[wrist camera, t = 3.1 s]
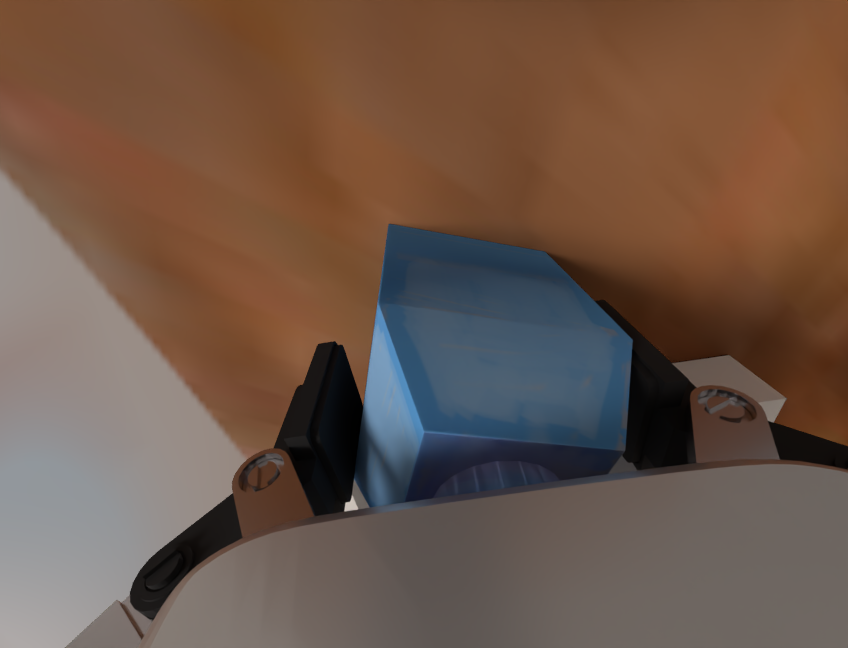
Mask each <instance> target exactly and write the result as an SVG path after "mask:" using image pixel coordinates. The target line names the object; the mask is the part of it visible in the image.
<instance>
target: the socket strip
mask: <svg viewBox="0 0 848 648" xmlns="http://www.w3.org/2000/svg"><path fill="white" fill-rule="evenodd" d="M672 364H673V365H674V366H675V367H676V368H677V369H678V370H680V371H681V372H682V373H683V374H684V375H685V376H686V377H687V378H688V379H689V381H690V382H691V383H692V384H693V385H694V386H696V387H697V388H698V387H700V386H706V385H717V386H724V387H728V388H732V389H735V390H737V391H740V392H742V393H745V394H746V395H748V396H749V397H751V398H753V399H754V400H755V401H756V402H758V403H759V404H760V405H761V406H762V408H763V410H764V412H765V414H766V417H767V420H768V421H770V422H773V423H774V421H775V419H776V417H777V415H778V413H779V412H780V410H781V408H782V406H783V404H784V402H785V401H786V399H787V398H785V397H784V396H783V395H781V394H780V393H779V392H777V391H776V390H775V389H773V388H772V387H771V386H769V385H768V384H767V383H766V382H764V381H763V380H762V379H760V378H759V377H758V376H756V375H755V374H754V373H752V372H751V371H750V370H748V369H747V368H746V367H744V366H743V365H742V364H740V363H739V362H738V361H736V360H735V359H734V358H732V357H731V356H730V355H726V356H719V357H712V358H706V359H699V360H692V361H685V362H678V363H672ZM364 508H370V507H369V505H368V503H367V502H366V500H365V498H364V496H363V494H362V493H361V491H360V489H359V487H358V485H357V484H356V482H355V480H354V483H353V491H352V498H351V501H350V502H346V503H345V510H344V512H345V511H351V510H357V509H364Z"/></svg>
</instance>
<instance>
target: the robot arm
mask: <svg viewBox="0 0 848 648" xmlns="http://www.w3.org/2000/svg"><path fill="white" fill-rule="evenodd" d="M595 302H596V303H597V304H598V305H599V306H600V307H601V308H602V309H603V310H604V311H605V312H606V313H607V314H608V315H609V316H610V317H611V319H612V320H613V321H614V322H615V323H616V324H617V325H618V326H619V327H620V328H621V329H622V330H623V331H624V332H625V333H626V334H627V335H628V336H629V337H630V338H631V339H632V340H633V343H632V358H631V373H630V387H629V402H628V417H627V432H626V447H625V452H624V453H623V454H622V456H623V458H624V459H625V460H626V461H627V462H628V463H633V465H634V466H635V468H636V469H637V470H636V471H629V472H621V473H614V474H606V475H599V476H591V477H584V478H576V479H569V480H561V481H554V482H547V483H539V484H532V485H525V486H518V487H510V488H503V489H496V490H489V491H482V492H474V493H467V494H460V495H453V496H446V497H439V498H432V499H425V500H418V501H411V502H404V503H397V504H390V505H383V506H377V507H370V508H364V509H357V510H351V511H345V512H344V510H345V503H346V502H350V501H351V498H352V491H353V483H354V476H355V463H356V456H357V449H358V441H359V434H360V427H361V419H362V412H363V405H362V401H361V398H360V395H359V392H358V389H357V386H356V383H355V380H354V377H353V374H352V371H351V368H350V365H349V362H348V359H347V356H346V353H345V350H344V347H343V345H337V343H336V342H335V341H334V342H328V343H321V344H318V345H317V348H316V351H315V353H314V356H313V359H312V362H311V364H310V367H309V370H308V373H307V375H306V378H305V381H304V384H303V385H300V386H298V387H297V389H296V391H295V393H294V396H293V398H292V401H291V404H290V406H289V409H288V412H287V414H286V417H285V419H284V422H283V425H282V427H281V430H280V433H279V435H278V438H277V440H276V443H275V446H274V448H272V449H267V450H263V451H261V452H259V453H256V454H255V455H253V456H252V457H250V458H249V459H247V460H246V461H245V462H244V463H243V464H242V465H241V466H240V468H239V469H238V471H237V472H236V473H235V475H234V478H233V481H232V490H233V494H231V495H230V496H229V497H227V498H226V499H225V500H224V501H222V502H221V503H220V504H218V505H217V506H216V507H214V508H213V509H212V510H211V511H209V512H208V513H207V514H205V515H204V516H203V517H202V518H200V519H199V520H198V521H196V522H195V523H194V524H193V525H191V526H190V527H189V528H187V529H186V530H185V531H184V532H182V533H181V534H180V535H178V536H177V537H176V538H175V539H173V540H172V541H171V542H169V543H168V544H167V545H165V546H164V547H163V548H162V549H160V550H159V551H158V552H157V553H156V554H155V555H153V556H152V557H151V558H150V559H149V560H148V562H147V563H146V564H145V565H144V566H143V567H142V569H141V570H140V571H139V573H138V575H137V577H136V578H135V580H134V582H133V585H132V588H131V591H130V595H129V596H128V597H127V598H126V599H125V600H124V601H123V602H122V603H121V602H120V601H118V600H116V601H115V602H114V603H113V604H112V605H111V606H109V607H108V608H107V609H106V610H105V611H104V612H103V613H102V614H101V615H100V616H99V617H98V618H97V619H95V620H94V621H93V622H92V623H91V624H90V625H89V626H88V627H87V628H86V629H85V630H84V631H83V632H81V633H80V634H79V635H78V636H77V637H76V638H75V639H74V640H73V641H72V642H71V643H69V645H67V646H66V647H65V648H848V446H845V445H842V444H839V443H835V442H832V441H829V440H826V439H823V438H820V437H817V436H814V435H811V434H807V433H804V432H801V431H798V430H795V429H792V428H789V427H786V426H783V425H780V424H776V423H773V422H770V421H768V420H767V417H766V414H765V412H764V410H763V408H762V406H761V405H760V404H759V403H758V402H756V401H755V400H754V399H753V398H751V397H749V396H748V395H746V394H745V393H742V392H740V391H737V390H735V389H732V388H728V387H724V386H717V385H706V386H700V387H698V388H697V387H696V386H694V385H693V384H692V383H691V382H690V381H689V379H688V378H687V377H686V376H685V375H684V374H683V373H682V372H681V371H680V370H678V369H677V368H676V367H675V366H674V365H673V364H672V363H671V362H670V361H669V360H668V359H667V358H666V357H665V356H664V355H663V354H661V353H660V352H659V351H658V350H657V349H656V348H655V347H654V346H653V345H652V344H651V343H650V342H649V341H648V340H647V339H646V338H644V337H643V336H642V335H641V334H640V333H639V332H638V331H637V330H636V329H635V328H634V327H633V326H632V325H631V324H630V323H629V322H627V321H626V320H625V319H624V318H623V317H622V316H621V315H620V314H619V313H618V312H617V311H616V310H615V309H614V308H613V307H612V306H610V305H609V304H608V303H607V302H606V301H605V300H599V301H595Z"/></svg>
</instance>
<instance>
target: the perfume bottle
mask: <svg viewBox="0 0 848 648" xmlns="http://www.w3.org/2000/svg"><path fill="white" fill-rule="evenodd" d="M632 343H633V340H632V339H631V338H630V337H629V336H628V335H627V334H626V333H625V332H624V331H623V330H622V329H621V328H620V327H619V326H618V325H617V324H616V323H615V322H614V321H613V320H612V319H611V317H610V316H609V315H608V314H607V313H606V312H605V311H604V310H603V309H602V308H601V307H600V306H599V305H598V304H597V303H596V302H595V301H594V300H593V299H592V298H591V297H590V296H589V295H588V294H587V293H586V292H585V291H584V290H583V289H582V288H581V287H580V286H579V285H578V284H577V283H576V282H575V281H574V280H573V279H572V278H571V277H570V276H569V275H568V274H567V273H566V272H565V271H564V270H563V269H562V268H561V267H560V266H559V265H558V264H557V263H556V262H555V261H554V260H553V259H552V258H551V257H550V256H549V255H548V254H547V253H546V252H544V251H538V250H533V249H527V248H522V247H516V246H510V245H505V244H499V243H494V242H488V241H482V240H477V239H471V238H465V237H460V236H454V235H449V234H443V233H437V232H432V231H426V230H421V229H415V228H409V227H404V226H398V225H393V224H389V226H388V233H387V240H386V247H385V254H384V261H383V268H382V275H381V283H380V290H379V297H378V304H377V311H376V318H375V325H374V332H373V339H372V346H371V354H370V361H369V368H368V375H367V383H366V390H365V397H364V404H363V412H362V419H361V427H360V434H359V441H358V449H357V456H356V463H355V476H354V480H355V482H356V484H357V485H358V487H359V489H360V491H361V493H362V494H363V496H364V498H365V500H366V502H367V503H368V505H369V507H377V506H383V505H390V504H397V503H404V502H411V501H418V500H425V499H432V498H439V497H446V496H453V495H460V494H467V493H474V492H482V491H489V490H496V489H503V488H510V487H518V486H525V485H532V484H539V483H547V482H554V481H561V480H569V479H576V478H584V477H591V476H599V475H606V474H609V472H610V471H611V469H612V468H613V467H614V465H615V464H616V463H617V461H618V460H619V459H620V457H621V456H622V454H623V453H624V452H625V447H626V432H627V417H628V402H629V387H630V373H631V358H632Z"/></svg>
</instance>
